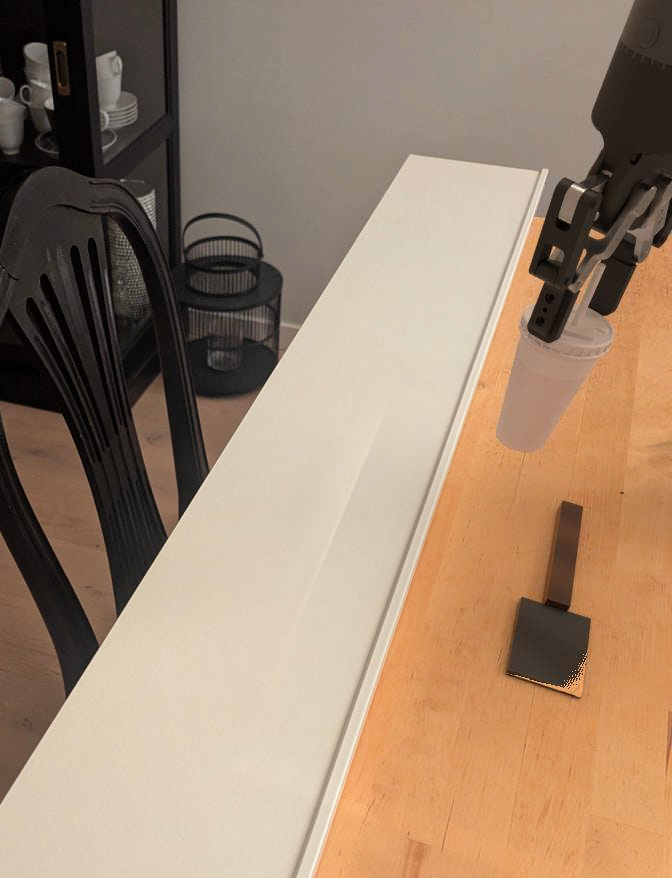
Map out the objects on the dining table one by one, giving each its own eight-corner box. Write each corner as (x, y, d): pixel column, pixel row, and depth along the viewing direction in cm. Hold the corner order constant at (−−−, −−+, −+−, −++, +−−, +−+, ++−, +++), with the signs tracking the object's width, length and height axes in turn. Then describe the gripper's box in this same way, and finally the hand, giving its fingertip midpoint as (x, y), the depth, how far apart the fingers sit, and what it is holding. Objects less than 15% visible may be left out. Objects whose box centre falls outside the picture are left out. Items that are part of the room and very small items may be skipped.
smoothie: (511, 470, 67) (590, 291, 57) (461, 420, 71) (526, 243, 60) (578, 454, 69) (666, 278, 59) (527, 407, 73) (601, 233, 62)
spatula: (537, 503, 89) (541, 493, 88) (599, 521, 87) (604, 512, 87) (505, 674, 73) (510, 664, 72) (580, 698, 72) (586, 689, 71)
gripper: (686, 86, 45) (555, 381, 58) (813, 49, 52) (671, 319, 64) (560, 39, 49) (462, 327, 61) (695, 10, 55) (582, 274, 68)
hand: (570, 322), depth 63 cm, fingers closed on smoothie, 6 cm apart
